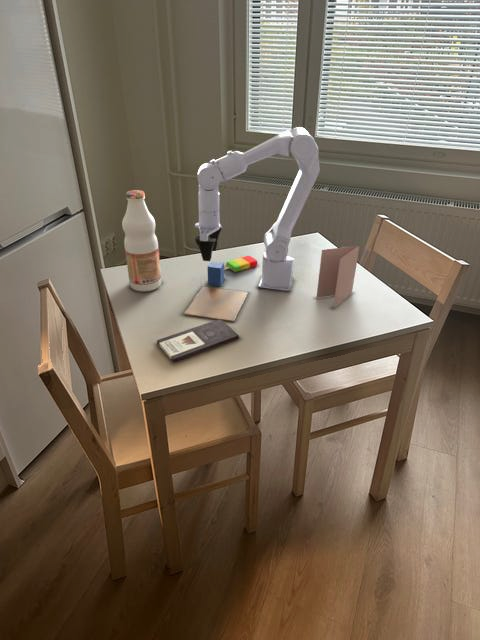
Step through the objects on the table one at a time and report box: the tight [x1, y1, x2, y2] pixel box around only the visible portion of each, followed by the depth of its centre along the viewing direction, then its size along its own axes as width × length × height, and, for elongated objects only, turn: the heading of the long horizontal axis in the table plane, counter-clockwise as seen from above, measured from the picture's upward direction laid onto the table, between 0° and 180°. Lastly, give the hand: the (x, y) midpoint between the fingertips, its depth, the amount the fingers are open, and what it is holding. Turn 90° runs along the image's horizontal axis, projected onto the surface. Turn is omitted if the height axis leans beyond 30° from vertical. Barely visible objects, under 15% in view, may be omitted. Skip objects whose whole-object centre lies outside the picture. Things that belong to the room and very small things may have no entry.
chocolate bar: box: [156, 319, 240, 363], centre depth 112 cm, size 9×1×18 cm
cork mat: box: [183, 286, 249, 322], centre depth 128 cm, size 14×16×1 cm
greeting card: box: [316, 244, 360, 309], centre depth 126 cm, size 11×7×15 cm, turn 107°
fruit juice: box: [121, 189, 162, 292], centre depth 130 cm, size 9×9×28 cm
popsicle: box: [224, 255, 258, 273], centre depth 147 cm, size 6×15×2 cm, turn 124°
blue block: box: [207, 260, 225, 287], centre depth 137 cm, size 4×4×6 cm
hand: (209, 255), depth 132 cm, fingers open, 7 cm apart
